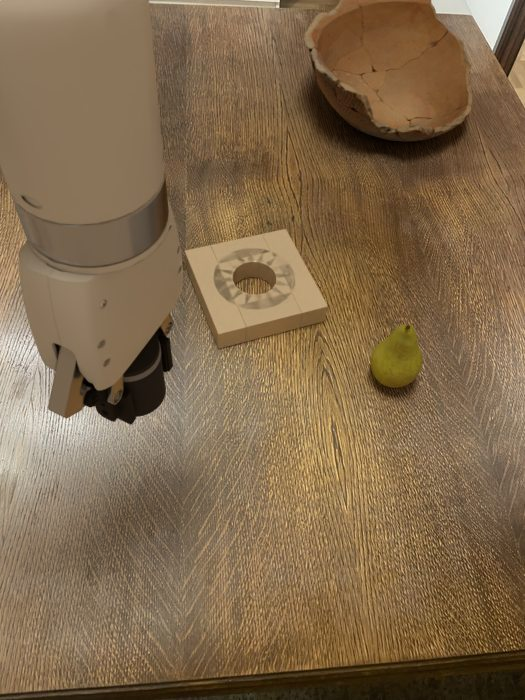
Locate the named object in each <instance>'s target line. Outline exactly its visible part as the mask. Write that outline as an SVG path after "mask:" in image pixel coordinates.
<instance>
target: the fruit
mask: <svg viewBox="0 0 525 700" xmlns="http://www.w3.org/2000/svg"><path fill="white" fill-rule="evenodd" d="M369 360H370V361H369V363H370V369H371V372H372V374H373V376H374V378H375V380H377V382H379V383H380V384H381V385H382V386H385V387H388V388H393V389H394V388H403V387H405V386H407V385H409V384H410V383H413V382H414V380H415V379H416V378H417V377H418V376H419V374H420V372H421V371H422V367H423V362H424V361H423V360H424V359H423V352H422V350H421V348H420V345H419V342H418V335H417V332H416V329H414V327H413V325H411V324H410V323H404V324H402V325H400V326H398V327H396V328H395V329H394V330H393V331H392V332H391V333H390V334H389V336H387V337H385V338H383V339H382V340H381V341H380V342H379V343H378V344H377V345H376V346H375V348H374V349H373V351H372V353H371V355H370V359H369Z"/></svg>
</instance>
